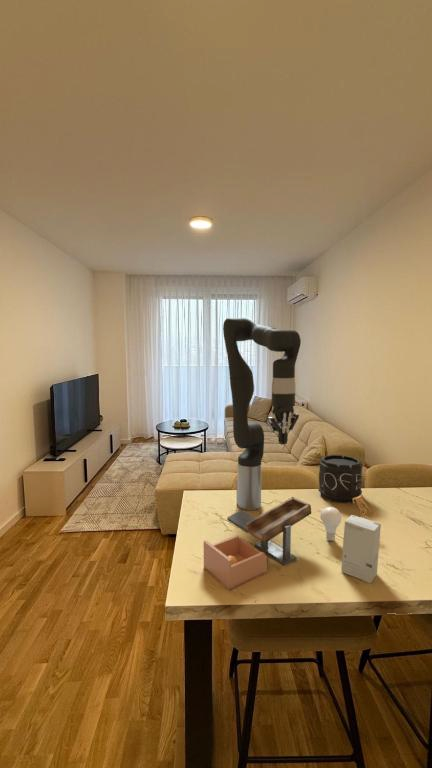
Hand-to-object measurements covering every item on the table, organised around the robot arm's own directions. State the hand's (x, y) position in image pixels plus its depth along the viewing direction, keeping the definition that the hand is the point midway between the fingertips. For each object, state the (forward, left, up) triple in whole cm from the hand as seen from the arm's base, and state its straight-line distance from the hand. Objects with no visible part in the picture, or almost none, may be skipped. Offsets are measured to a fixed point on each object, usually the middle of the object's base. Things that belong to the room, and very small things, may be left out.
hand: (282, 443), depth 119 cm
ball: (+7, -27, -28) cm, 40 cm away
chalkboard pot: (-9, +44, -31) cm, 55 cm away
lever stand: (+7, -10, -31) cm, 33 cm away
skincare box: (+28, +2, -31) cm, 42 cm away
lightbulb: (+12, +10, -31) cm, 35 cm away
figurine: (+13, +26, -31) cm, 43 cm away
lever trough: (+2, -8, -22) cm, 24 cm away
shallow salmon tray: (+7, -26, -31) cm, 41 cm away
